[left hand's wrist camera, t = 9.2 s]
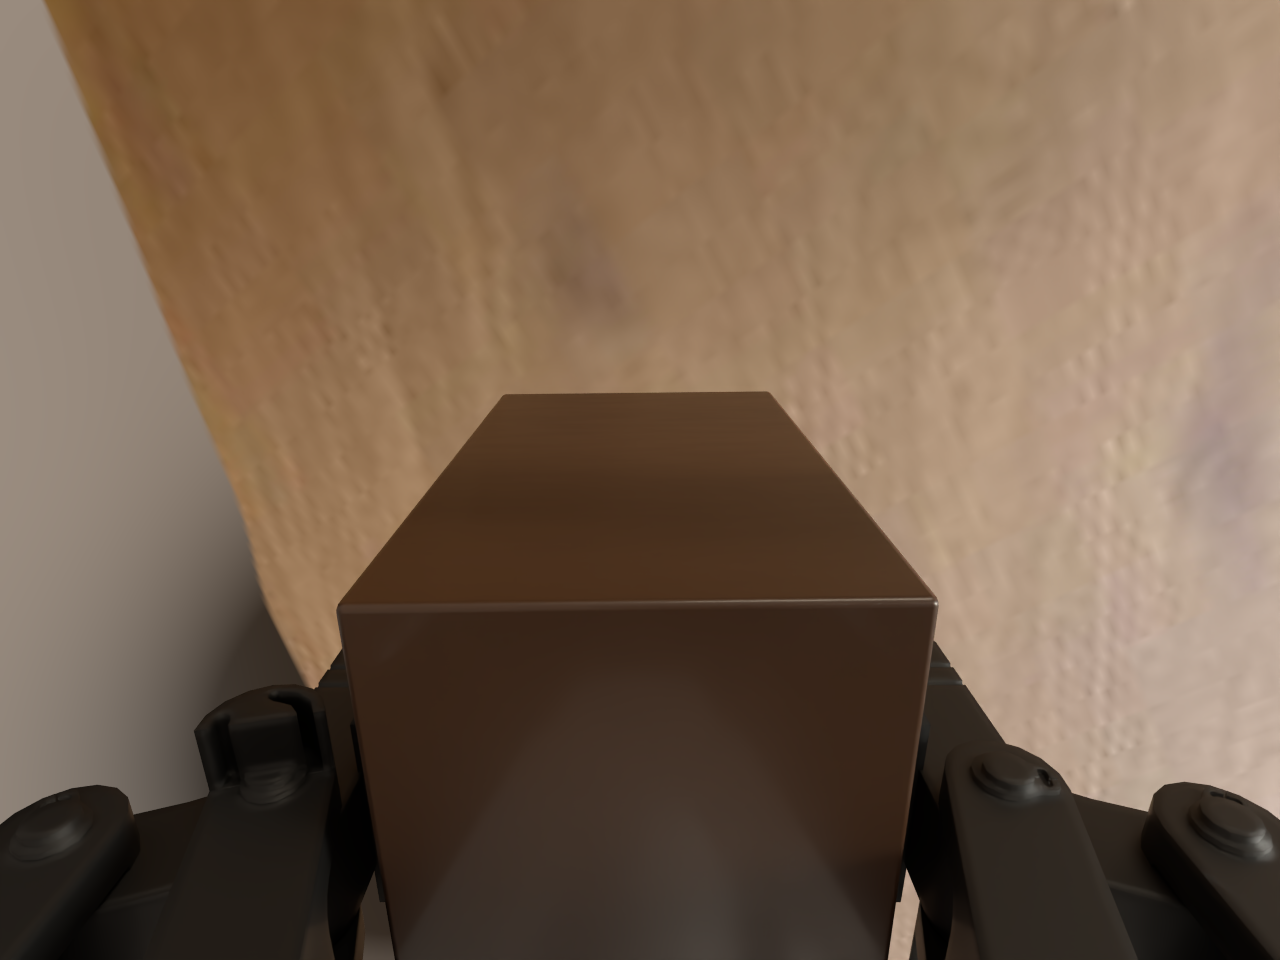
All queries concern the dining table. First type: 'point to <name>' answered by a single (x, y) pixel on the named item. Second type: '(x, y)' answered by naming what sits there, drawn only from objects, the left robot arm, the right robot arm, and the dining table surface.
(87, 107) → the dining table surface
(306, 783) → the left robot arm
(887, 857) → the beam
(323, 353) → the dining table surface
